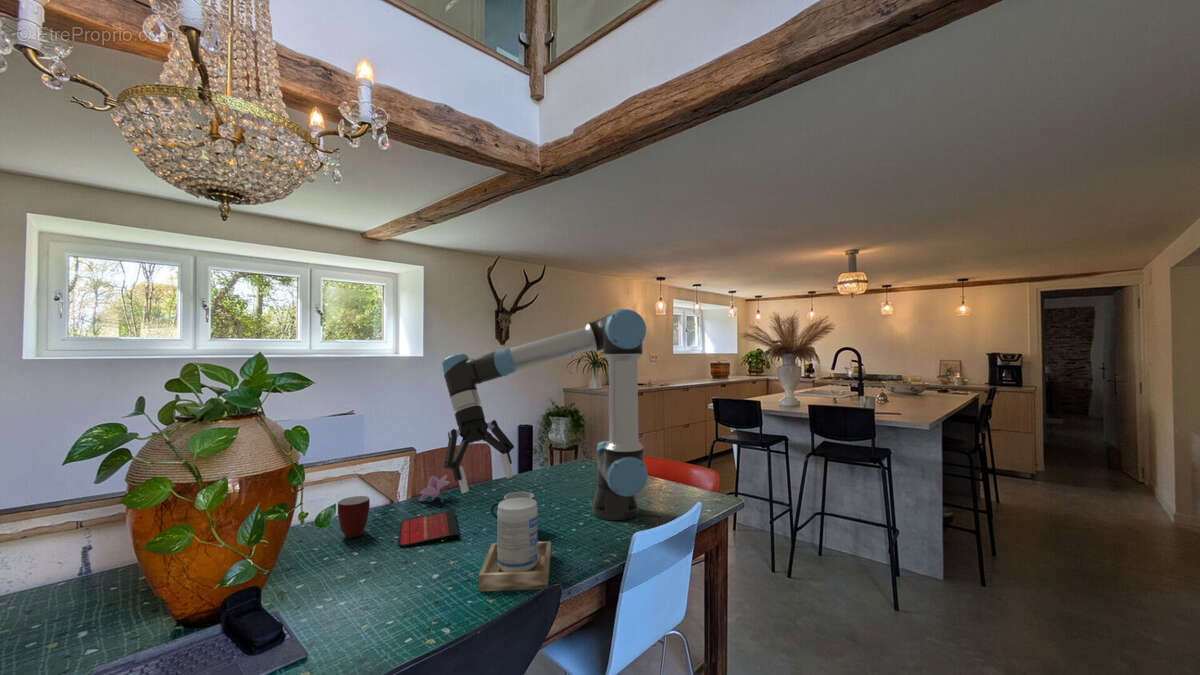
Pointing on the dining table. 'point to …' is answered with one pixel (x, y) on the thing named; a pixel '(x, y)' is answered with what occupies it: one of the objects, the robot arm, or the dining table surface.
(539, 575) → the slatted wooden tray
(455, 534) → the red book
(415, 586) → the dining table surface
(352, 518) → the mug
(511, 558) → the supplement tub
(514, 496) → the coffee mug
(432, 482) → the lily
